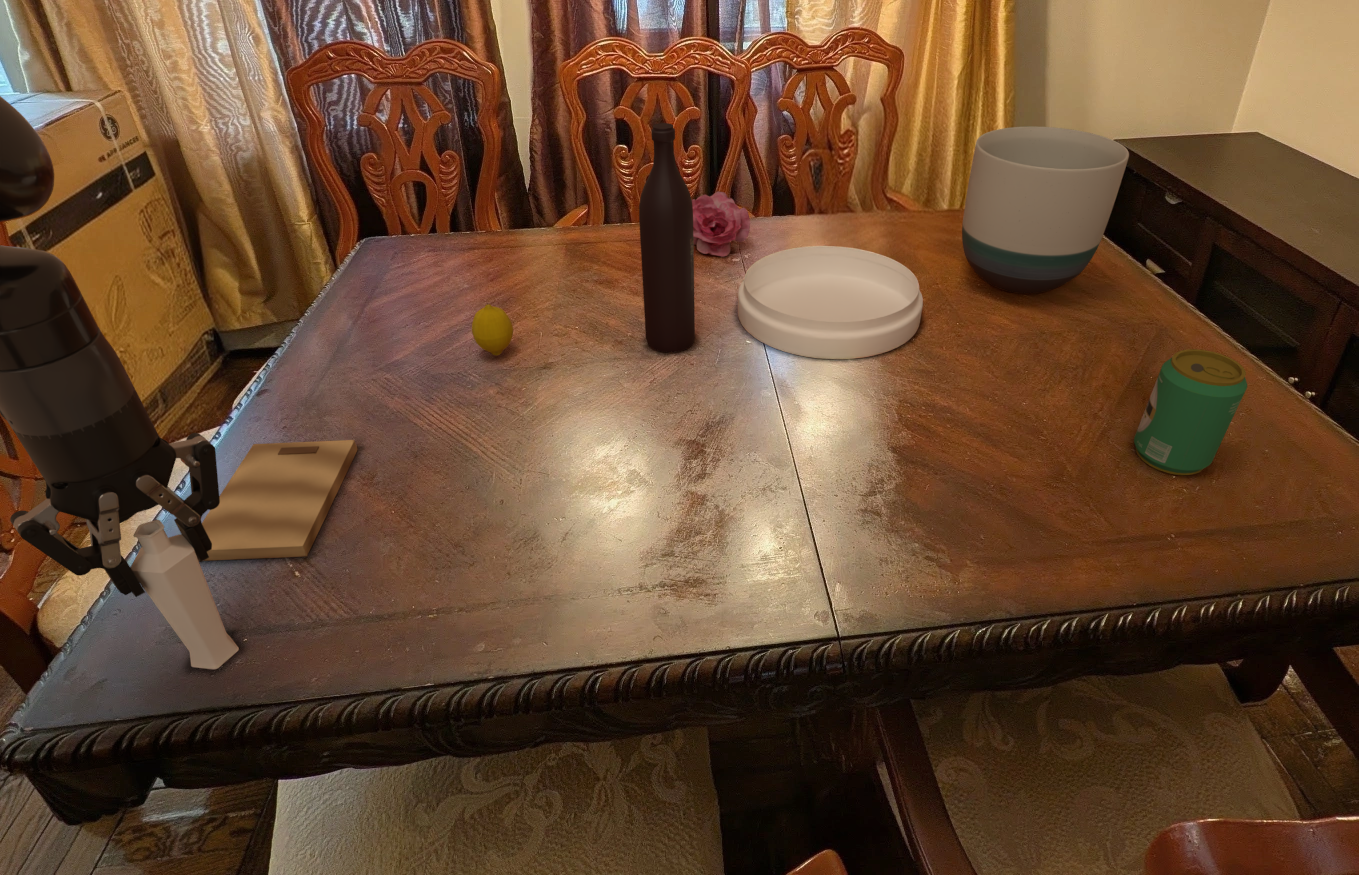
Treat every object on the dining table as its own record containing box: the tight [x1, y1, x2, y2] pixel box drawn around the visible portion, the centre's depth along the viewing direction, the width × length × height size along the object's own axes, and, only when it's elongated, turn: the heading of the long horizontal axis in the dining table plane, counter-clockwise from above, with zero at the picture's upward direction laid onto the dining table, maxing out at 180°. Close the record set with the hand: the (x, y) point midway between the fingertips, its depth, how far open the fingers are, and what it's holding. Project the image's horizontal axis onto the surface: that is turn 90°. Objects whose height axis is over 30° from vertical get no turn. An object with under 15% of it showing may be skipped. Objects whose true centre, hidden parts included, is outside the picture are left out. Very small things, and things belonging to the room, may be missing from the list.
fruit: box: [471, 303, 514, 357], centre depth 111 cm, size 6×6×8 cm
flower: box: [691, 190, 751, 258], centre depth 140 cm, size 11×10×10 cm
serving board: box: [198, 439, 358, 562], centre depth 88 cm, size 18×12×2 cm, turn 2°
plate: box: [737, 245, 924, 360], centre depth 119 cm, size 27×27×6 cm
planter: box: [961, 126, 1130, 295], centre depth 121 cm, size 20×20×21 cm
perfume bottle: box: [130, 519, 240, 670], centre depth 68 cm, size 5×4×15 cm
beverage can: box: [1133, 348, 1248, 476], centre depth 88 cm, size 8×8×12 cm
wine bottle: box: [638, 122, 696, 353], centre depth 106 cm, size 7×7×30 cm
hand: (169, 571), depth 66 cm, fingers closed on perfume bottle, 4 cm apart
